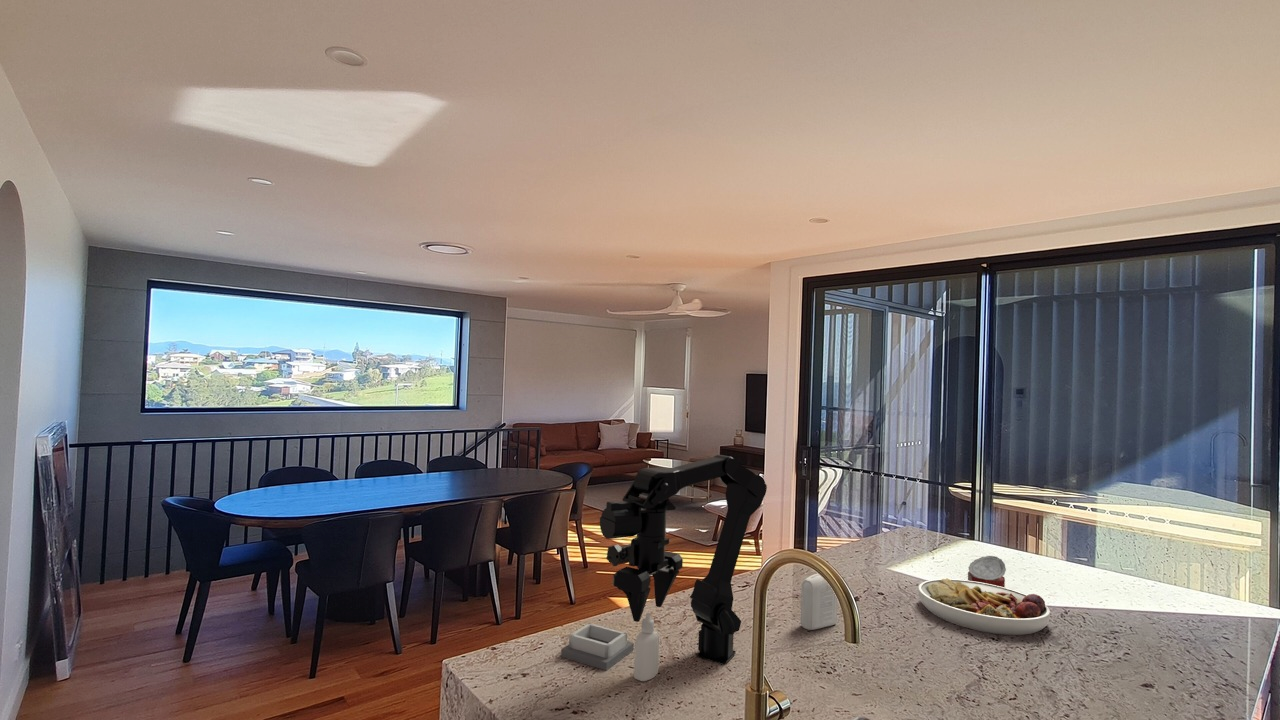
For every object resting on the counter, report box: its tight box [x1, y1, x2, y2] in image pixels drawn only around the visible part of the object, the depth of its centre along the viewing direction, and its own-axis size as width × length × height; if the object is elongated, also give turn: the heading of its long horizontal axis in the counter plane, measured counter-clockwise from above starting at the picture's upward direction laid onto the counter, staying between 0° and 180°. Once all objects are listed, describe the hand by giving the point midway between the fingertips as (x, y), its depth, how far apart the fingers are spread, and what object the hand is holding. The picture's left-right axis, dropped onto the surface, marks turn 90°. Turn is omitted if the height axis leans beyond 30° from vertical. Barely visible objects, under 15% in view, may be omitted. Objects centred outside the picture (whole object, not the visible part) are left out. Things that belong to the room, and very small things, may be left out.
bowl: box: [917, 578, 1051, 636], centre depth 159 cm, size 30×30×8 cm
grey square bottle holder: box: [560, 622, 635, 671], centre depth 127 cm, size 11×11×4 cm
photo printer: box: [800, 573, 839, 631], centre depth 148 cm, size 10×4×12 cm, turn 123°
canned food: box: [967, 555, 1007, 588], centre depth 185 cm, size 11×10×10 cm
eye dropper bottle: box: [633, 612, 660, 682], centre depth 118 cm, size 4×6×12 cm
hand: (647, 613), depth 119 cm, fingers open, 9 cm apart
